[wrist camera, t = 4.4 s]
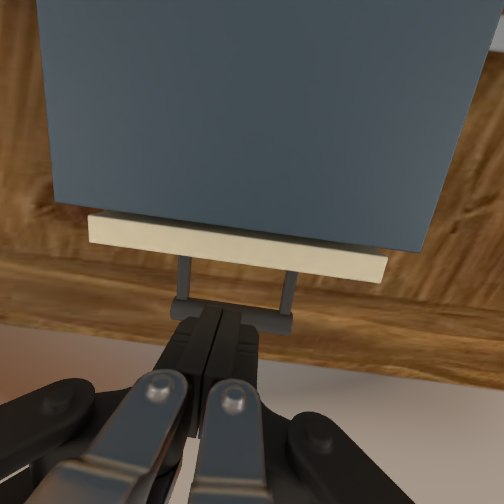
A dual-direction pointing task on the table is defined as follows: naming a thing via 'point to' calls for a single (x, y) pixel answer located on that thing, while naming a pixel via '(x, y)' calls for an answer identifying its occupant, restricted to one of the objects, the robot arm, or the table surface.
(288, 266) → the drawer
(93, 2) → the cabinet
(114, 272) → the table surface
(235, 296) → the table surface
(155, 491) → the robot arm
